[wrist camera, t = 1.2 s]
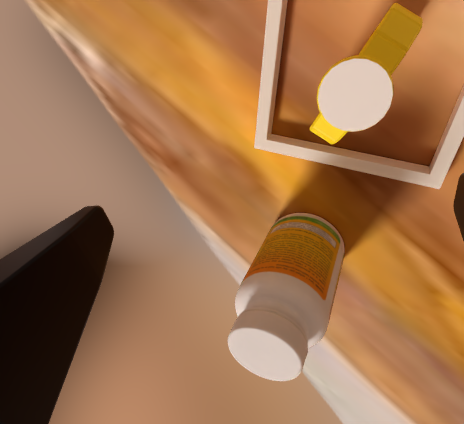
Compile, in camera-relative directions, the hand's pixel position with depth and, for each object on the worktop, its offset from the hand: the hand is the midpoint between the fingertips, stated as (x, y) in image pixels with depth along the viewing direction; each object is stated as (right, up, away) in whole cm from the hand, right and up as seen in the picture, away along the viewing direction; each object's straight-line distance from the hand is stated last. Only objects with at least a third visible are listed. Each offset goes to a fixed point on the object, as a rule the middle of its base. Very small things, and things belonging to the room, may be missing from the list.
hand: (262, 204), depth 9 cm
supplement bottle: (+5, -2, +16) cm, 17 cm away
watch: (+6, +7, +9) cm, 13 cm away
